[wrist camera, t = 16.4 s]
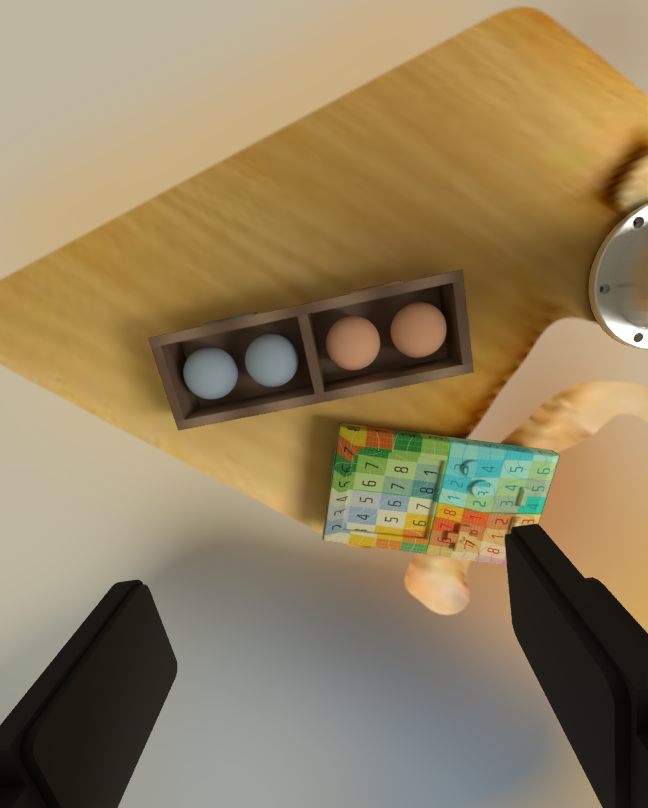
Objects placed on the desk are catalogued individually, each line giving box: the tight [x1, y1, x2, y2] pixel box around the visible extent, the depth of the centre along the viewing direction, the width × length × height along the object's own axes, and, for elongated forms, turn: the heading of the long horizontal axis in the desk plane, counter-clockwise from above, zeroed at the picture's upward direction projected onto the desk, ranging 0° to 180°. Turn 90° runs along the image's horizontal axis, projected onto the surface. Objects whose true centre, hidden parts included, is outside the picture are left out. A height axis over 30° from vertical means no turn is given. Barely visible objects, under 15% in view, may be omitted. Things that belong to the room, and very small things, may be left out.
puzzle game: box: [323, 423, 560, 565], centre depth 37 cm, size 12×5×20 cm
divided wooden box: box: [148, 270, 474, 430], centre depth 33 cm, size 25×8×5 cm, turn 102°
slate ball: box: [245, 334, 299, 387], centre depth 33 cm, size 5×5×5 cm
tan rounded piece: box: [391, 302, 447, 358], centre depth 32 cm, size 5×5×5 cm
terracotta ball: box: [326, 316, 380, 370], centre depth 33 cm, size 5×5×5 cm
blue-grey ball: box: [183, 347, 238, 399], centre depth 34 cm, size 5×5×5 cm
